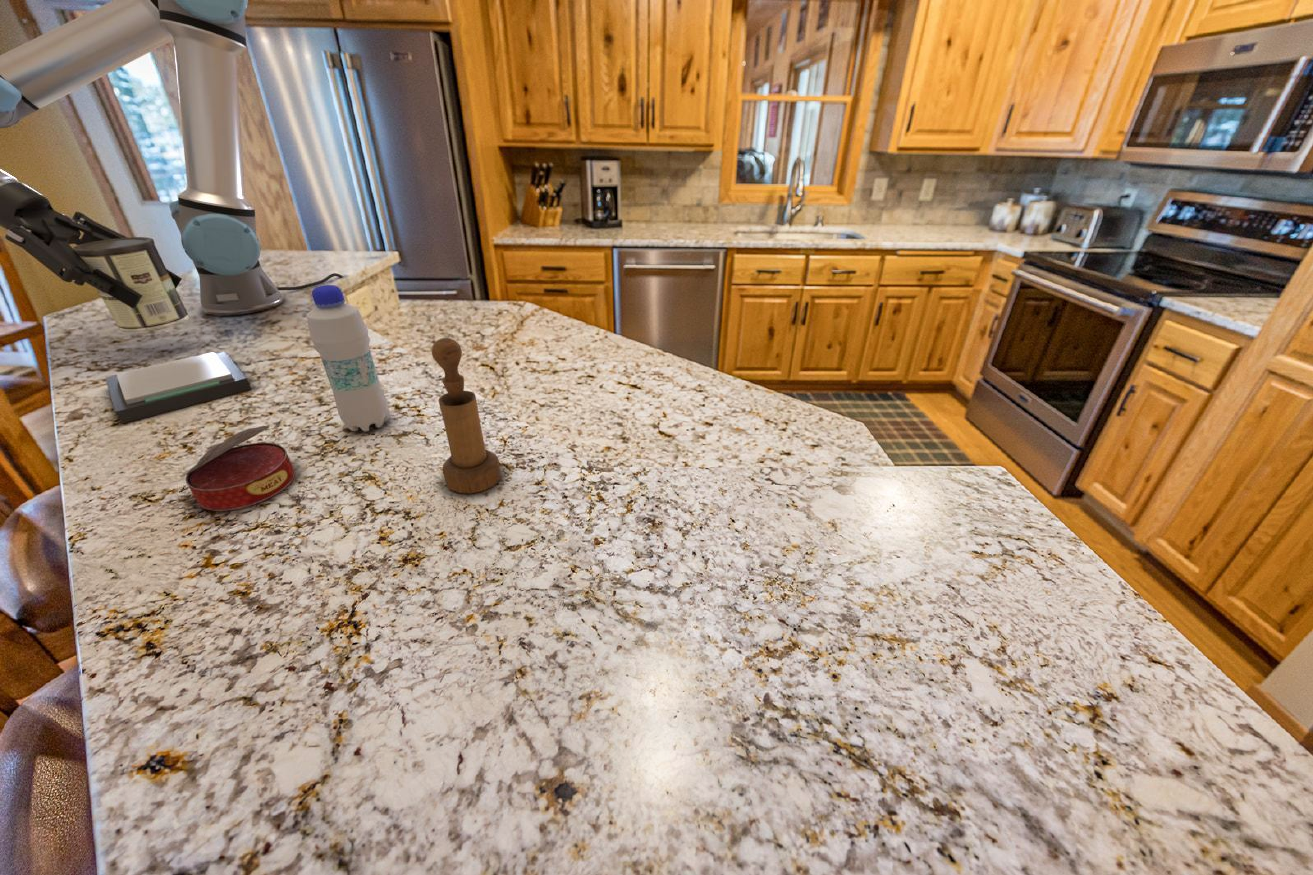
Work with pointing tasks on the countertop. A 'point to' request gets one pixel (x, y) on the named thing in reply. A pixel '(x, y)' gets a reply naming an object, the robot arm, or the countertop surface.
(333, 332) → the bottle
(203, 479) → the canned food
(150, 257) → the coffee can
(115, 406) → the scale
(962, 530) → the countertop surface
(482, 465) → the mortar and pestle
